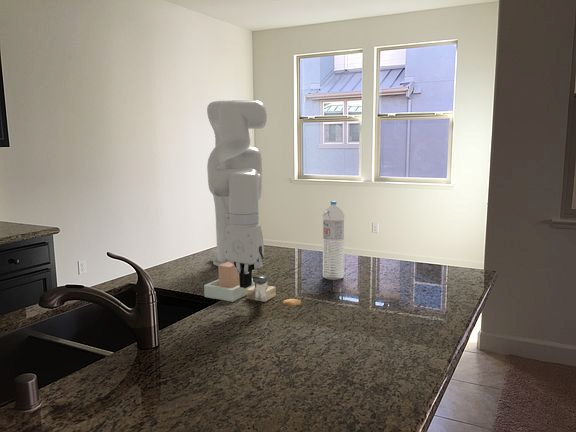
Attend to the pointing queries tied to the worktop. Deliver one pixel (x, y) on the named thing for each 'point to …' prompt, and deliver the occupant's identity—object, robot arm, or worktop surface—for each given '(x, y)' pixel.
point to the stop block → (228, 275)
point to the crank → (260, 286)
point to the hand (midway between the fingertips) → (245, 286)
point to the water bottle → (333, 243)
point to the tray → (225, 291)
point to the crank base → (271, 296)
